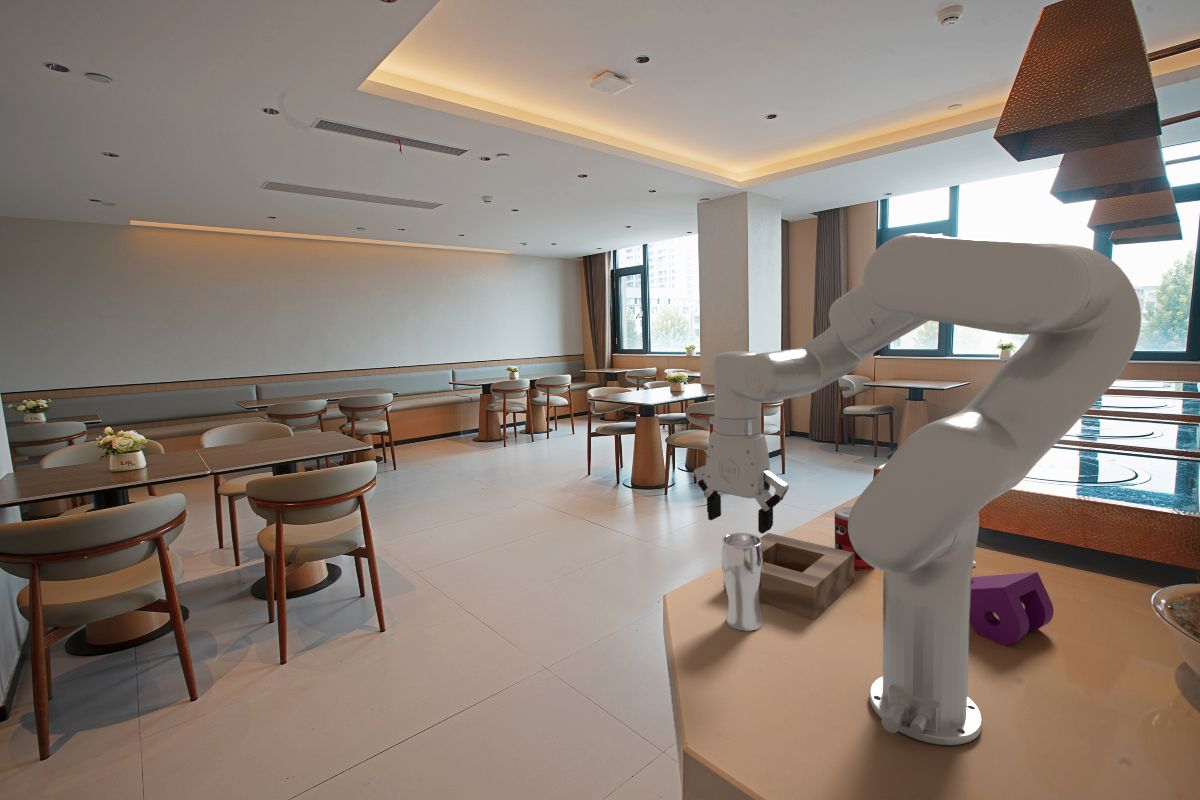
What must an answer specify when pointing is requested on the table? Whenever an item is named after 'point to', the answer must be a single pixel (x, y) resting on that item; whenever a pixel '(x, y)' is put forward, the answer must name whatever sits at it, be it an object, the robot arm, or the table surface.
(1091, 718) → the table surface
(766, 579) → the walnut well
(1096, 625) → the table surface
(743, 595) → the silver metal cup
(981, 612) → the mounting bracket
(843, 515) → the canned food
